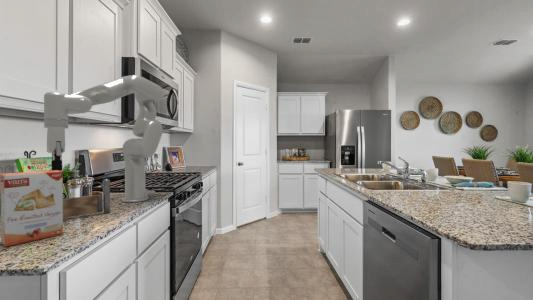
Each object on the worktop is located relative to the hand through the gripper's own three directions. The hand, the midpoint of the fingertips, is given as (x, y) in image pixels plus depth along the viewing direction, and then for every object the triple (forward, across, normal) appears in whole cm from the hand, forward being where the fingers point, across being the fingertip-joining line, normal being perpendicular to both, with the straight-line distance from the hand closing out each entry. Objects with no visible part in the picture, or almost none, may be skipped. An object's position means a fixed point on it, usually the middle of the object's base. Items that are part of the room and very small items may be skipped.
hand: (56, 170), depth 107 cm
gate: (+18, +7, +4) cm, 19 cm away
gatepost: (+18, +7, +16) cm, 25 cm away
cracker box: (+19, +25, -9) cm, 33 cm away
